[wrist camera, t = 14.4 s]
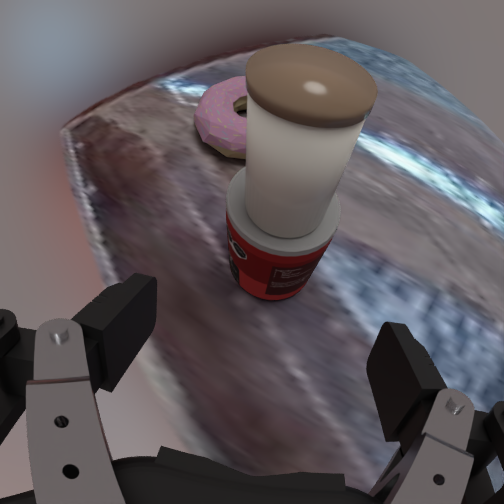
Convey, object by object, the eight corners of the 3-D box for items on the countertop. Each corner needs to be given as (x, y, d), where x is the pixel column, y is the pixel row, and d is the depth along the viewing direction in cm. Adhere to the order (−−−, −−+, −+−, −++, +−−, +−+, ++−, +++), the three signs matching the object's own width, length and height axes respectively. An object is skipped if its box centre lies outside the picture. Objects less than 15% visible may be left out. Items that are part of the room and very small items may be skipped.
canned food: (247, 219, 32) (250, 144, 22) (318, 247, 31) (351, 180, 21) (216, 283, 29) (204, 224, 19) (295, 314, 28) (326, 270, 18)
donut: (223, 186, 34) (221, 156, 30) (180, 114, 40) (176, 86, 35) (332, 148, 38) (341, 120, 33) (274, 87, 43) (277, 62, 39)
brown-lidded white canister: (284, 157, 22) (304, 35, 13) (343, 205, 20) (398, 87, 11) (225, 198, 20) (217, 66, 11) (287, 256, 18) (326, 133, 9)
